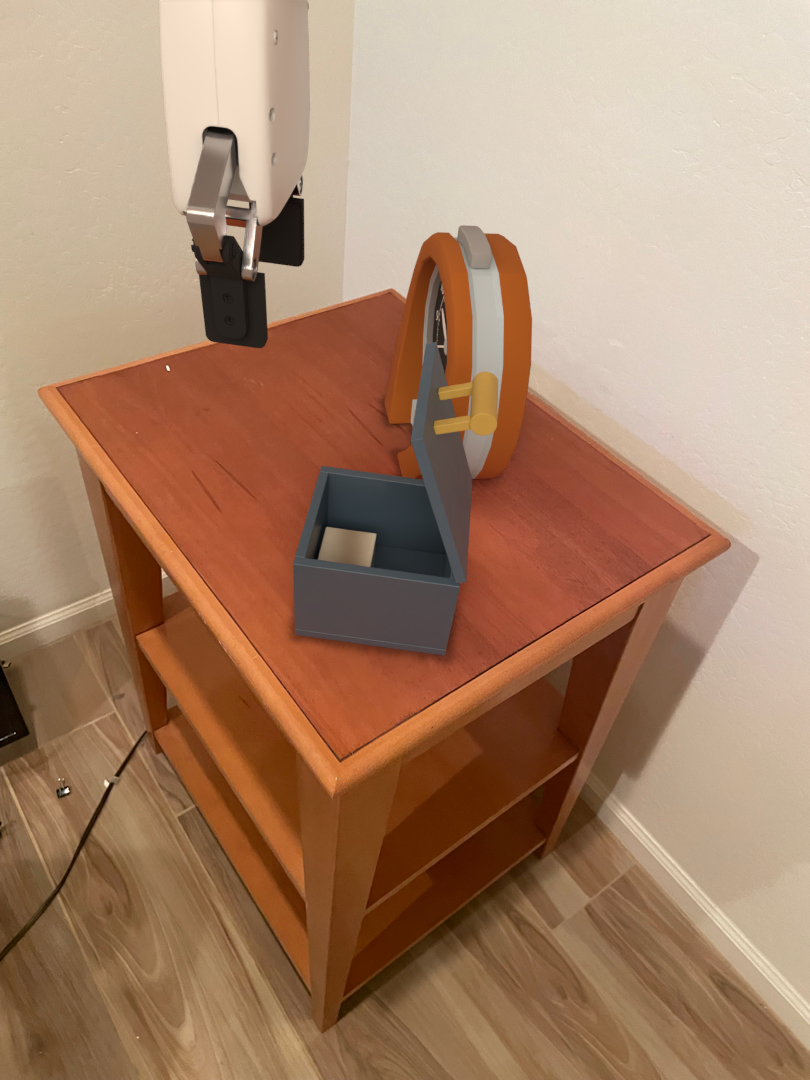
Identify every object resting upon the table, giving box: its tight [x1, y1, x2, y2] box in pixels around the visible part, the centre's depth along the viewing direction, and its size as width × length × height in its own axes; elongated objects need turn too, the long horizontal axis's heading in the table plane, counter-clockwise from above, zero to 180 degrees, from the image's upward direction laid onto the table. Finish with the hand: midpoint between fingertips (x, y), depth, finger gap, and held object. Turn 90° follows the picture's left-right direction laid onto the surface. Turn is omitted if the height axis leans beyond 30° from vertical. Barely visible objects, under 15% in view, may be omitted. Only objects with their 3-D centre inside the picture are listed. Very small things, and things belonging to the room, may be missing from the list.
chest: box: [292, 465, 462, 657], centre depth 62 cm, size 13×12×9 cm
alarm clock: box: [383, 224, 533, 480], centre depth 73 cm, size 22×10×23 cm, turn 9°
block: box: [318, 527, 377, 568], centre depth 63 cm, size 4×4×4 cm
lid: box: [410, 342, 498, 584], centre depth 53 cm, size 13×12×5 cm
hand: (259, 299), depth 43 cm, fingers open, 9 cm apart
